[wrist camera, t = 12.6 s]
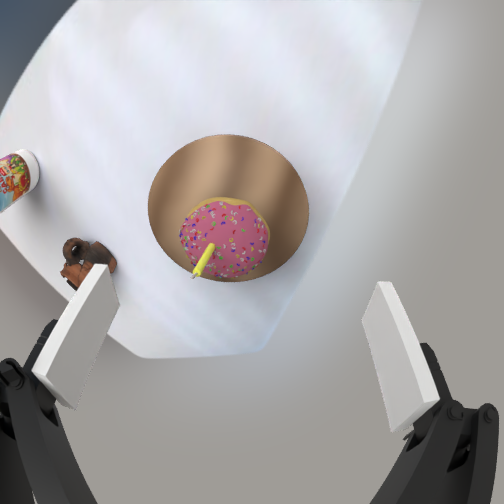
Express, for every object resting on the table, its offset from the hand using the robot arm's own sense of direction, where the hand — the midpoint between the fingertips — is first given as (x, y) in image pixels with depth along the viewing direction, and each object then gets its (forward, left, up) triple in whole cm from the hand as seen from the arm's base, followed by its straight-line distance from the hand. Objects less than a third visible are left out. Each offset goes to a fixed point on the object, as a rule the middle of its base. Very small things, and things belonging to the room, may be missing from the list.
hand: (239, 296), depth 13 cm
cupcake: (+2, +5, -18) cm, 19 cm away
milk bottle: (+38, +1, -27) cm, 47 cm away
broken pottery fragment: (+27, +18, -27) cm, 42 cm away
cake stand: (+2, +5, -27) cm, 27 cm away
